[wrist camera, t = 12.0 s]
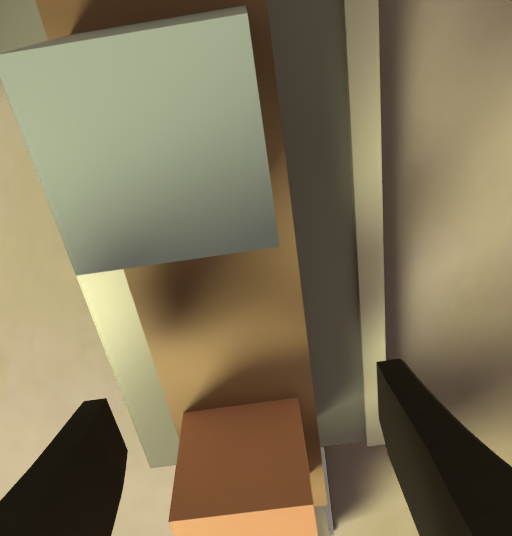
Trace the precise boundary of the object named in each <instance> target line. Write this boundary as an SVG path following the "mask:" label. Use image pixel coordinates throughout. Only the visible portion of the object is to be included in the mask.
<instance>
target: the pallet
mask: <svg viewBox="0 0 512 536" xmlns="http://www.w3.org/2000/svg"><path fill="white" fill-rule="evenodd" d="M35 1H36V4H37V7H38V10H39V13H40V16H41V20H42V23H43V26H44V29H45V32H46V35H47V38H48V41H49V40H52V39H56V38H60V37H63V36H67V35H71V34H77V33H83V32H89V31H95V30H101V29H107V28H113V27H119V26H125V25H131V24H137V23H143V22H149V21H155V20H161V19H167V18H173V17H179V16H185V15H191V14H197V13H203V12H208V11H214V10H220V9H226V8H232V7H238V6H244V5H245V6H246V10H247V13H248V21H249V28H250V35H251V42H252V49H253V57H254V64H255V71H256V78H257V86H258V93H259V100H260V107H261V115H262V122H263V129H264V136H265V144H266V151H267V158H268V165H269V173H270V180H271V187H272V194H273V202H274V209H275V216H276V223H277V230H278V238H279V245H280V247H274V248H267V249H260V250H253V251H246V252H239V253H232V254H225V255H218V256H211V257H204V258H197V259H190V260H183V261H176V262H169V263H162V264H155V265H148V266H141V267H134V268H127V269H123V270H124V273H125V276H126V279H127V283H128V286H129V289H130V292H131V295H132V298H133V301H134V304H135V307H136V310H137V313H138V316H139V319H140V322H141V325H142V328H143V331H144V334H145V338H146V341H147V344H148V347H149V350H150V353H151V356H152V359H153V362H154V365H155V368H156V371H157V374H158V377H159V380H160V383H161V386H162V390H163V393H164V396H165V399H166V402H167V405H168V408H169V411H170V414H171V417H172V420H173V423H174V426H175V429H176V432H177V435H178V438H179V441H180V434H181V427H182V419H183V413H185V412H192V411H200V410H208V409H215V408H223V407H230V406H238V405H245V404H253V403H261V402H268V401H276V400H283V399H291V398H298V400H299V406H300V413H301V420H302V426H303V433H304V440H305V446H306V453H307V460H308V466H309V473H310V480H311V487H312V494H313V501H314V507H317V506H325V505H327V498H326V490H325V481H324V473H323V465H322V456H321V448H320V440H319V431H318V423H317V415H316V407H315V398H314V390H313V382H312V373H311V365H310V357H309V348H308V340H307V332H306V323H305V315H304V307H303V298H302V290H301V282H300V274H299V265H298V257H297V249H296V240H295V232H294V224H293V215H292V207H291V199H290V190H289V182H288V174H287V165H286V157H285V149H284V141H283V132H282V124H281V116H280V107H279V99H278V91H277V82H276V74H275V66H274V57H273V49H272V41H271V32H270V24H269V16H268V8H267V0H35Z"/></svg>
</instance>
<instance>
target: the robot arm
mask: <svg viewBox="0 0 512 536" xmlns="http://www.w3.org/2000/svg"><path fill="white" fill-rule="evenodd" d="M376 367H377V391H378V415H379V421H380V425H381V429H382V433H383V437H384V441H385V444H386V448H387V452H388V455H389V458H390V461H391V463H392V466H393V468H394V471H395V474H396V476H397V479H398V481H399V484H400V487H401V489H402V492H403V494H404V497H405V499H406V502H407V505H408V507H409V510H410V512H411V515H412V517H413V520H414V523H415V525H416V528H417V530H418V533H419V535H420V536H512V467H511V466H510V465H509V464H508V463H506V462H505V461H504V460H503V459H501V458H500V457H499V456H498V455H496V454H495V453H494V452H493V451H492V450H490V449H489V448H488V447H487V446H486V445H485V444H483V443H482V442H481V441H480V440H479V439H478V438H477V437H476V436H475V435H473V434H472V433H471V432H470V431H469V430H468V429H467V428H466V427H465V426H464V425H463V424H461V423H460V422H459V421H458V420H457V419H456V418H455V417H454V416H453V415H452V414H451V413H450V412H449V411H448V410H447V409H446V408H445V407H444V406H443V405H442V404H441V403H440V402H439V401H438V400H437V399H436V398H435V396H434V395H433V394H432V393H431V392H430V391H429V390H428V389H427V388H426V387H425V386H424V384H423V383H422V382H421V381H420V380H419V379H418V378H417V377H416V375H415V374H414V373H413V372H412V371H411V369H410V368H409V367H408V366H407V365H406V363H405V362H404V361H403V360H401V359H393V360H386V361H378V362H376ZM320 448H321V456H322V465H323V473H324V481H325V490H326V498H327V505H325V506H317V507H314V508H315V515H316V522H317V529H318V536H334V530H333V521H332V512H331V504H330V495H329V486H328V478H327V469H326V460H325V452H324V447H320ZM127 452H128V450H127V448H126V445H125V443H124V440H123V438H122V436H121V433H120V431H119V428H118V426H117V424H116V421H115V419H114V416H113V414H112V411H111V409H110V407H109V404H108V402H107V399H106V398H105V399H97V400H90V401H84V402H83V403H82V404H81V406H80V407H79V408H78V409H77V410H76V412H75V413H74V414H73V415H72V417H71V418H70V419H69V420H68V422H67V423H66V424H65V425H64V427H63V428H62V429H61V430H60V432H59V433H58V434H57V435H56V437H55V438H54V439H53V440H52V442H51V443H50V444H49V445H48V447H47V448H46V449H45V450H44V451H43V453H42V454H41V455H40V456H39V457H38V459H37V460H36V461H35V462H34V463H33V465H32V466H31V467H30V468H29V469H28V471H27V472H26V473H25V474H24V475H23V476H22V477H21V478H20V479H19V481H18V482H17V483H16V484H15V485H14V486H13V487H12V488H11V490H10V491H9V492H8V493H7V494H6V495H5V496H4V497H3V499H2V500H1V501H0V536H111V534H112V530H113V526H114V522H115V518H116V514H117V510H118V506H119V503H120V499H121V494H122V490H123V484H124V477H125V470H126V461H127Z"/></svg>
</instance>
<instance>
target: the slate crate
mask: <svg viewBox="0 0 512 536" xmlns="http://www.w3.org/2000/svg"><path fill="white" fill-rule="evenodd" d="M0 79H1V81H2V84H3V87H4V89H5V92H6V94H7V97H8V100H9V102H10V105H11V107H12V110H13V113H14V115H15V118H16V120H17V123H18V126H19V128H20V131H21V133H22V136H23V139H24V141H25V144H26V146H27V149H28V152H29V154H30V157H31V159H32V162H33V165H34V167H35V170H36V172H37V175H38V178H39V180H40V183H41V186H42V188H43V191H44V193H45V196H46V199H47V201H48V204H49V206H50V209H51V212H52V214H53V217H54V219H55V222H56V225H57V227H58V230H59V232H60V235H61V238H62V240H63V243H64V245H65V248H66V251H67V253H68V256H69V258H70V261H71V264H72V266H73V269H74V271H75V274H76V276H78V275H85V274H92V273H99V272H106V271H113V270H120V269H127V268H134V267H141V266H148V265H155V264H162V263H169V262H176V261H183V260H190V259H197V258H204V257H211V256H218V255H225V254H232V253H239V252H246V251H253V250H260V249H267V248H274V247H280V245H279V238H278V230H277V223H276V216H275V209H274V202H273V194H272V187H271V180H270V173H269V165H268V158H267V151H266V144H265V136H264V129H263V122H262V115H261V107H260V100H259V93H258V86H257V78H256V71H255V64H254V57H253V49H252V42H251V35H250V28H249V21H248V13H247V10H246V6H245V5H244V6H238V7H232V8H226V9H220V10H214V11H208V12H203V13H197V14H191V15H185V16H179V17H173V18H167V19H161V20H155V21H149V22H143V23H137V24H131V25H125V26H119V27H113V28H107V29H101V30H95V31H89V32H83V33H77V34H71V35H67V36H63V37H60V38H56V39H52V40H49V41H45V42H41V43H37V44H34V45H30V46H26V47H23V48H19V49H15V50H11V51H8V52H4V53H0Z"/></svg>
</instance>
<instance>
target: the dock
mask: <svg viewBox="0 0 512 536" xmlns="http://www.w3.org/2000/svg"><path fill="white" fill-rule="evenodd" d="M267 8H268V16H269V24H270V32H271V41H272V49H273V57H274V66H275V74H276V82H277V91H278V99H279V107H280V116H281V124H282V132H283V141H284V149H285V157H286V165H287V174H288V182H289V190H290V199H291V207H292V215H293V224H294V232H295V240H296V249H297V257H298V265H299V274H300V282H301V290H302V298H303V307H304V315H305V323H306V332H307V340H308V348H309V357H310V365H311V373H312V382H313V390H314V398H315V407H316V415H317V423H318V431H319V440H320V447H327V446H335V445H343V444H351V443H359V442H366V444H367V447H368V446H376V445H384V444H385V441H384V437H383V433H382V429H381V425H380V421H379V415H378V391H377V367H376V362H378V361H386V346H385V297H384V249H383V200H382V152H381V103H380V55H379V6H378V0H267ZM45 41H48V38H47V35H46V32H45V29H44V26H43V23H42V20H41V16H40V13H39V10H38V7H37V4H36V1H35V0H0V53H4V52H8V51H11V50H15V49H19V48H23V47H26V46H30V45H34V44H37V43H41V42H45ZM1 82H2V81H1ZM6 95H7V94H6ZM11 108H12V107H11ZM16 121H17V120H16ZM21 134H22V133H21ZM26 147H27V146H26ZM31 160H32V159H31ZM36 173H37V172H36ZM77 279H78V282H79V284H80V287H81V289H82V292H83V295H84V297H85V300H86V302H87V305H88V308H89V310H90V313H91V315H92V318H93V320H94V323H95V326H96V328H97V331H98V333H99V336H100V339H101V341H102V344H103V346H104V349H105V352H106V354H107V357H108V359H109V362H110V365H111V367H112V370H113V372H114V375H115V378H116V380H117V383H118V385H119V388H120V391H121V393H122V396H123V398H124V401H125V404H126V406H127V409H128V411H129V414H130V417H131V419H132V422H133V424H134V427H135V430H136V432H137V435H138V437H139V440H140V443H141V445H142V448H143V450H144V453H145V455H146V458H147V461H148V463H149V466H150V468H156V467H164V466H172V465H176V463H177V456H178V449H179V438H178V435H177V432H176V429H175V426H174V423H173V420H172V417H171V414H170V411H169V408H168V405H167V402H166V399H165V396H164V393H163V390H162V386H161V383H160V380H159V377H158V374H157V371H156V368H155V365H154V362H153V359H152V356H151V353H150V350H149V347H148V344H147V341H146V338H145V334H144V331H143V328H142V325H141V322H140V319H139V316H138V313H137V310H136V307H135V304H134V301H133V298H132V295H131V292H130V289H129V286H128V283H127V279H126V276H125V273H124V270H123V269H120V270H113V271H106V272H99V273H92V274H85V275H78V276H77Z"/></svg>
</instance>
